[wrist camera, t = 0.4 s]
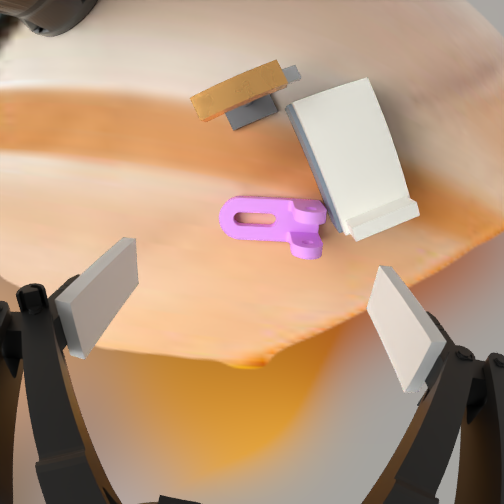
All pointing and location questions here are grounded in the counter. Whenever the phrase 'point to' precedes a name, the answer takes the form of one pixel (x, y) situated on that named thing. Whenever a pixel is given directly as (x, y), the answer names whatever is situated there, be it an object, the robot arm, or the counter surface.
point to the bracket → (278, 222)
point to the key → (243, 89)
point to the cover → (356, 158)
